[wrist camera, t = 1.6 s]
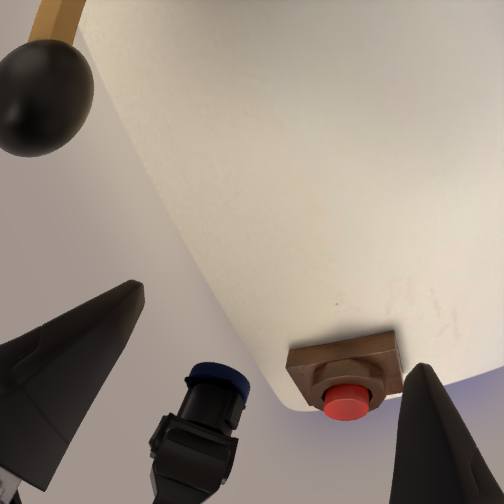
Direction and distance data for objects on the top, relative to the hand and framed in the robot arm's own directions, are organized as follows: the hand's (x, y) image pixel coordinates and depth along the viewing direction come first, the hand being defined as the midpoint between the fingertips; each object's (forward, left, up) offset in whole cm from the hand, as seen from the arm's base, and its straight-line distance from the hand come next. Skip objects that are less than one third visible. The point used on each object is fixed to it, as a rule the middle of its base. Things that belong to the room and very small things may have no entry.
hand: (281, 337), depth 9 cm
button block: (0, -19, -14) cm, 23 cm away
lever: (-3, +14, -4) cm, 15 cm away
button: (0, -19, -10) cm, 21 cm away
